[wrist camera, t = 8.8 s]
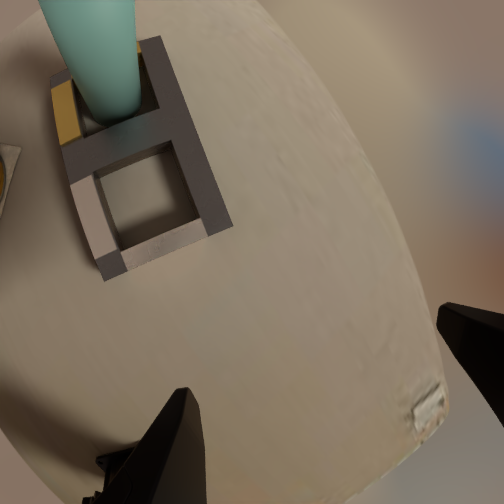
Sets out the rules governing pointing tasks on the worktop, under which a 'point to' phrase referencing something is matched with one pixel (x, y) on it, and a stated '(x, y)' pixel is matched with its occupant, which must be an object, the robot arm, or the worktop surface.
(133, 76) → the plug
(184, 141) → the socket plate
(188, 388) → the robot arm
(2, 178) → the condiment
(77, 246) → the worktop surface
